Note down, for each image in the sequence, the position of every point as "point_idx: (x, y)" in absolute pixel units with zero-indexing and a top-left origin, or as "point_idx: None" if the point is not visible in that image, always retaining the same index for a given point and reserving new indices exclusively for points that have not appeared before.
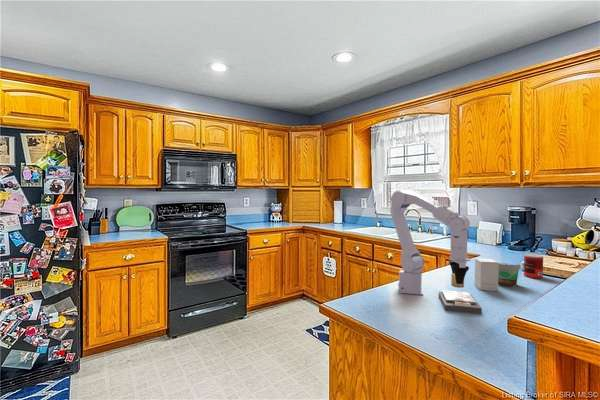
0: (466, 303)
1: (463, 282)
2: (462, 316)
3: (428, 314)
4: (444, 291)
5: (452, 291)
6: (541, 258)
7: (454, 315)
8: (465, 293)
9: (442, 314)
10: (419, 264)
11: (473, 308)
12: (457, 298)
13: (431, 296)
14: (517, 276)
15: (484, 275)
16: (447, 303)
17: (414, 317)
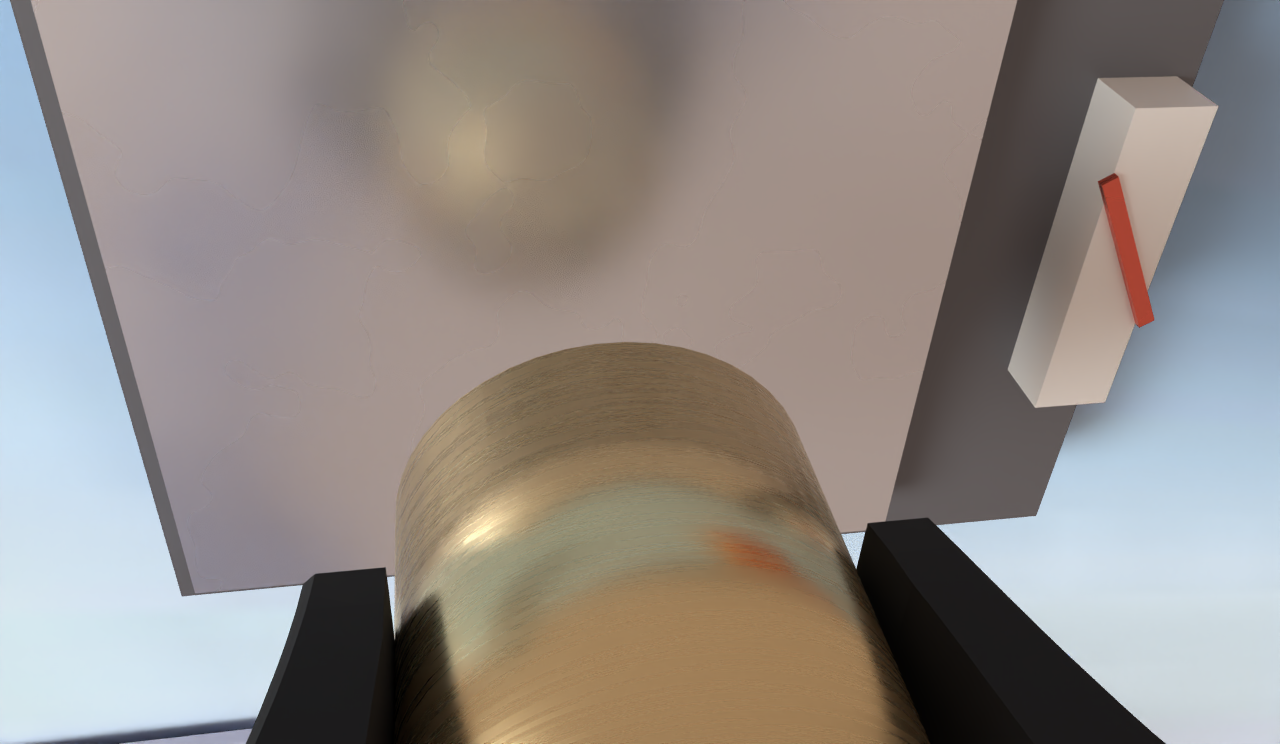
0: (1159, 195)
1: (789, 498)
2: (1274, 216)
3: (1143, 623)
4: (291, 545)
5: (196, 385)
6: None
7: (1215, 331)
8: (235, 52)
9: (1158, 481)
10: None
11: (1204, 7)
12: (795, 332)
13: (267, 613)
14: None
15: None
16: (963, 480)
17: (1219, 728)
